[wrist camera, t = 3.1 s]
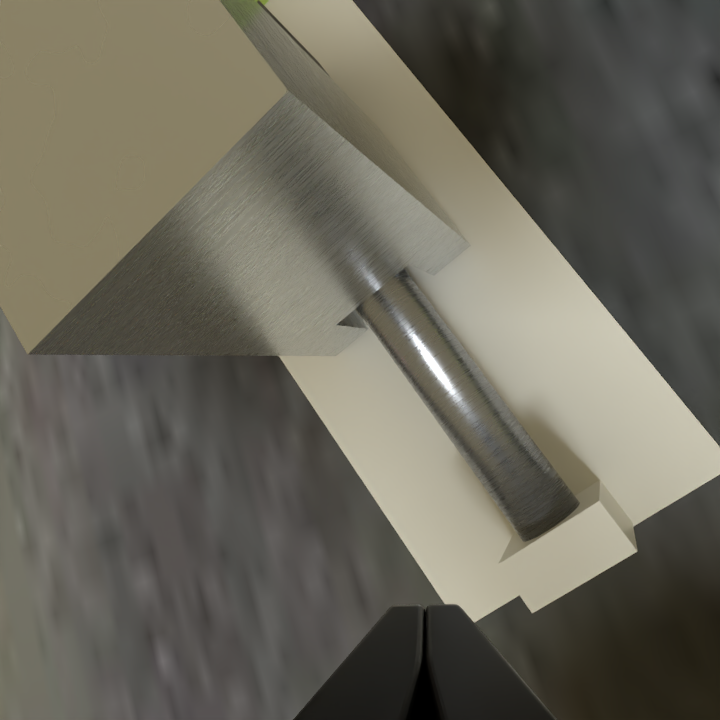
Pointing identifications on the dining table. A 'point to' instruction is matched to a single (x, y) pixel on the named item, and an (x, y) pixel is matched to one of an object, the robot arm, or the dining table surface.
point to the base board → (493, 366)
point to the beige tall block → (192, 185)
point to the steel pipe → (468, 408)
